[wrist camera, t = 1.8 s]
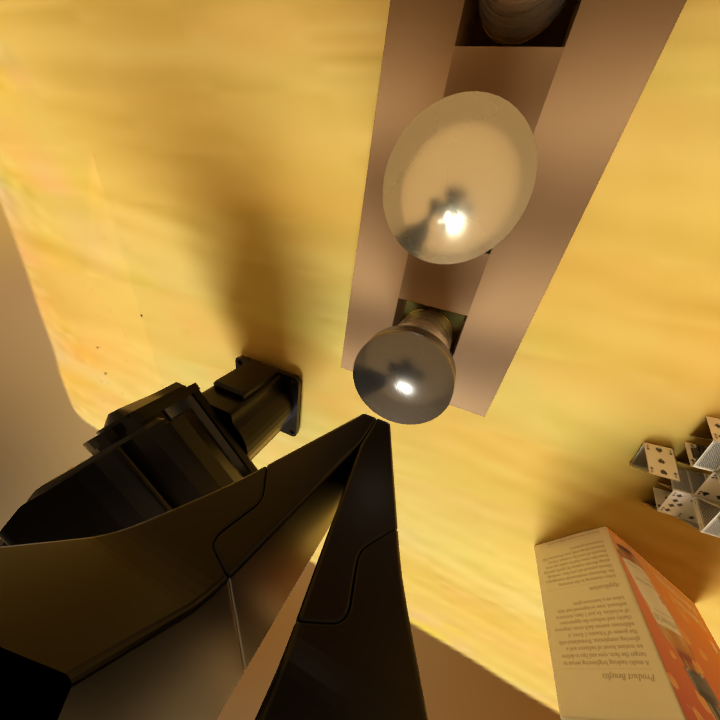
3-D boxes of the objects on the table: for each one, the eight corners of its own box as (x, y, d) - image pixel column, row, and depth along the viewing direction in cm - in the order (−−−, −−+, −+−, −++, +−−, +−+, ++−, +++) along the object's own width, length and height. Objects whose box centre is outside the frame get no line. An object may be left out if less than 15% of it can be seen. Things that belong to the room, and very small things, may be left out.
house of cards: (590, 347, 16) (662, 428, 10) (806, 380, 13) (1112, 524, 7) (539, 460, 20) (566, 569, 14) (697, 503, 17) (825, 667, 11)
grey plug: (449, 374, 16) (436, 438, 11) (384, 354, 17) (347, 404, 12) (473, 309, 14) (470, 352, 9) (399, 290, 15) (360, 320, 10)
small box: (684, 583, 19) (853, 879, 11) (601, 594, 22) (679, 832, 14) (599, 506, 19) (697, 739, 11) (528, 529, 22) (559, 724, 14)
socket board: (483, 383, 19) (484, 417, 15) (362, 345, 21) (340, 367, 18) (705, -112, 9) (837, -310, 6) (437, -82, 11) (419, -210, 8)
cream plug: (492, 258, 13) (499, 277, 8) (409, 242, 14) (372, 250, 9) (530, 153, 11) (570, 95, 6) (431, 143, 12) (398, 87, 7)
